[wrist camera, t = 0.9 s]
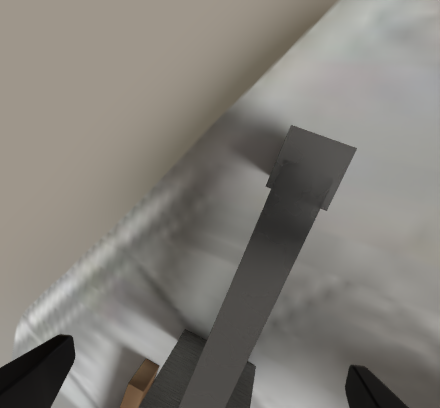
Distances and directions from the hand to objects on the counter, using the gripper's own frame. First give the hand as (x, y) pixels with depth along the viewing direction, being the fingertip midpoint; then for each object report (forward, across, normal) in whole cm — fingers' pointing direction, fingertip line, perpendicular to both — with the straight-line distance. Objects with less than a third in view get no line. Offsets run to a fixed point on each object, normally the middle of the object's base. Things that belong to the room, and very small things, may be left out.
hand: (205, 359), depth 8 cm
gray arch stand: (+13, -2, +4) cm, 14 cm away
